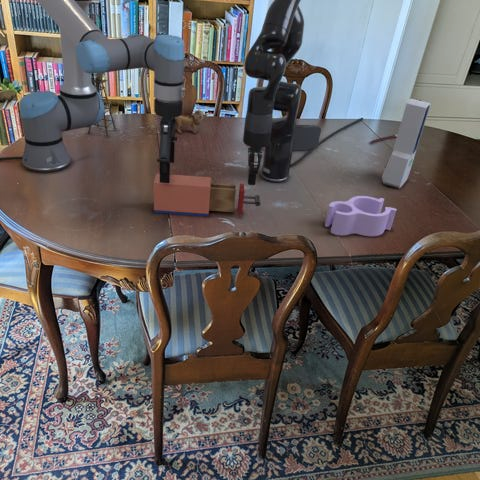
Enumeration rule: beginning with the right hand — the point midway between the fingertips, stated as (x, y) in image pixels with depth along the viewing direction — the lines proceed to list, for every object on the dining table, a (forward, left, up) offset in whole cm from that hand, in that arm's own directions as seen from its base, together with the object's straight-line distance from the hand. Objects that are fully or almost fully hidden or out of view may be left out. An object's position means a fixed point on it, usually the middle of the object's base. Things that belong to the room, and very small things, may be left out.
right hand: (251, 183), depth 138 cm
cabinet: (+15, -14, -10) cm, 23 cm away
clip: (-22, +25, -10) cm, 35 cm away
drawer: (+5, -5, -9) cm, 12 cm away
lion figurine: (-28, -65, -10) cm, 72 cm away
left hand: (+18, -17, +2) cm, 25 cm away
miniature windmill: (+2, -82, -10) cm, 83 cm away
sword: (-104, -11, -10) cm, 105 cm away
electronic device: (-63, +14, -10) cm, 65 cm away
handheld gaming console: (-52, -27, -10) cm, 60 cm away
